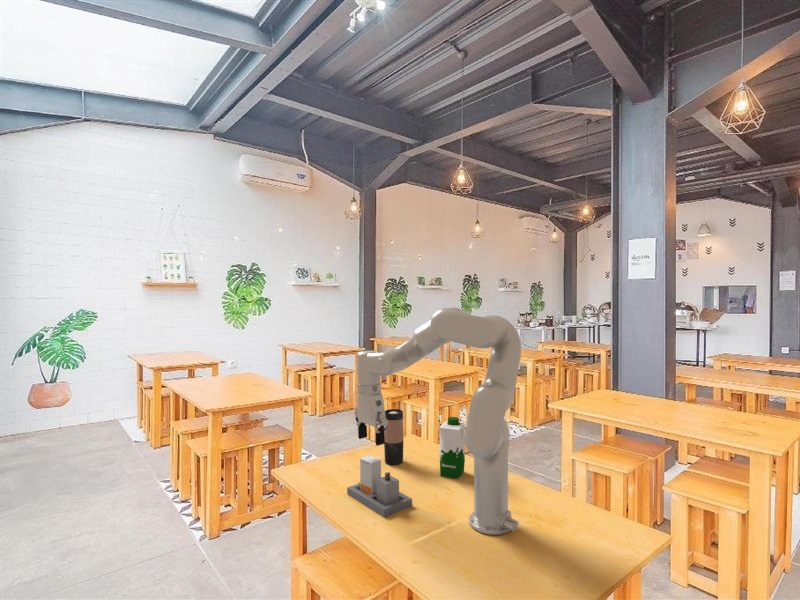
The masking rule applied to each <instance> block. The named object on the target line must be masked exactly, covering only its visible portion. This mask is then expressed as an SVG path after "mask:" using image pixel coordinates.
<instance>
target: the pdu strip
mask: <svg viewBox="0 0 800 600" xmlns="http://www.w3.org/2000/svg"><path fill="white" fill-rule="evenodd" d="M346 489H347V491H346V493H347V494H346V495H348V496H349V497H351V498H352V499H354V500H356V501H357V502H358V503H361V504H362V505H364V506H365V507H366V508H369V509H370V510H371V511H373V512H374V513H376V514H378V515H380V516H381V517H382V518H386V517H387V518H388V517H389V516H392V515H394V514H396V513H398V512H401V511H404V510H406V509H409V508H410V507H413V498H412V497H410V496H408V495H406V494H404V493H402V492H400V491H399V501H398V502H395V503H393V504H390V505H388V506H384V505H383V504H381V503H379V502H378V501H377V492H375V493H372V494H370V495H366V494H364V493H363V492H361V491H360V481H359V482H358V483H357V484H354V485H353V484H352V485H350V486H347V488H346Z"/></svg>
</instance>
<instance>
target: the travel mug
mask: <svg viewBox="0 0 800 600" xmlns="http://www.w3.org/2000/svg"><path fill="white" fill-rule="evenodd" d="M385 418H386V419H387V420H388V424H387V428H386V429H385V430H386V431H385V432H384V435H385V443H384V444H383V447H384V449H383V450H384V451H383V452H384V464H385V465H388V466H400V465H402V464H403V462H404V411H403V410H401V409H398V408H392V409H391V408H390V409H385Z"/></svg>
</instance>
